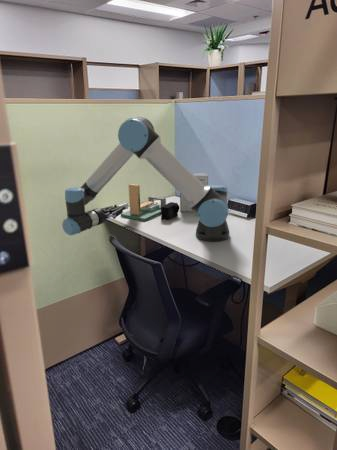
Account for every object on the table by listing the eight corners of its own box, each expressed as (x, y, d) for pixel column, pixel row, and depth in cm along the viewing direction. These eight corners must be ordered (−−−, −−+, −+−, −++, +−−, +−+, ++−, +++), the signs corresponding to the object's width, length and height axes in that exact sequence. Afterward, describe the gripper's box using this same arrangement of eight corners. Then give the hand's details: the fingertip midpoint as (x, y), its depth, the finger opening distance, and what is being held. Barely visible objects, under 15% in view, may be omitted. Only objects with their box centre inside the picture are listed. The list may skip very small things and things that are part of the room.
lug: (162, 207, 195) (162, 199, 194) (148, 205, 200) (148, 196, 199) (165, 206, 198) (165, 197, 196) (151, 203, 203) (151, 195, 201)
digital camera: (170, 221, 178) (170, 208, 176) (161, 219, 180) (160, 206, 178) (179, 215, 186) (179, 203, 184) (170, 214, 189) (170, 201, 187)
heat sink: (151, 212, 188) (150, 206, 187) (139, 209, 192) (139, 204, 191) (159, 208, 194) (159, 203, 193) (147, 206, 198) (147, 201, 197)
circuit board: (144, 221, 178) (144, 218, 177) (120, 216, 186) (120, 213, 186) (171, 209, 197) (171, 206, 197) (148, 205, 206) (148, 202, 205)
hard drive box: (207, 208, 199) (208, 173, 192) (207, 212, 191) (208, 176, 185) (180, 207, 200) (180, 173, 193) (179, 211, 193) (179, 176, 186)
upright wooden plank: (139, 215, 181) (137, 185, 176) (130, 214, 184) (128, 184, 179) (155, 208, 193) (154, 180, 187) (146, 207, 196) (145, 179, 190)
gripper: (84, 223, 162) (117, 210, 181) (104, 228, 155) (137, 214, 174) (82, 208, 160) (116, 196, 178) (103, 212, 153) (136, 200, 171)
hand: (126, 205), depth 176 cm, fingers closed
